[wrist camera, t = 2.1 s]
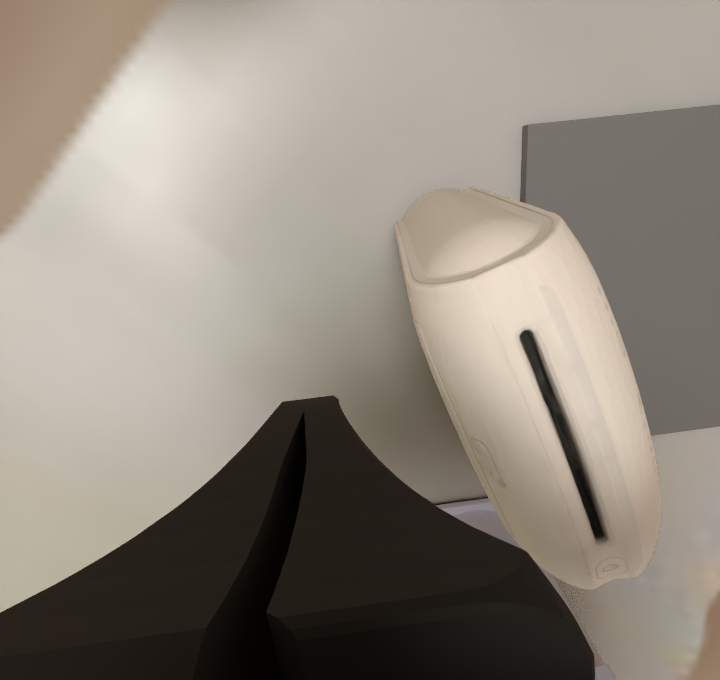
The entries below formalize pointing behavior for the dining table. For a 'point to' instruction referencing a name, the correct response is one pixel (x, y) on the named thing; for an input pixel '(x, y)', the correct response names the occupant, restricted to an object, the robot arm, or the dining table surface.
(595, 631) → the dining table surface
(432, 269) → the photo printer
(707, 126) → the rubber mat
